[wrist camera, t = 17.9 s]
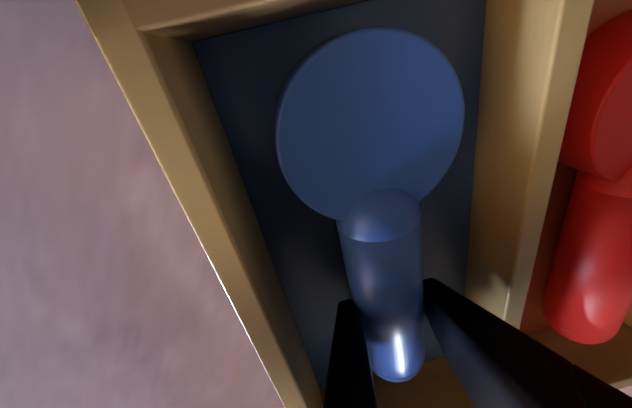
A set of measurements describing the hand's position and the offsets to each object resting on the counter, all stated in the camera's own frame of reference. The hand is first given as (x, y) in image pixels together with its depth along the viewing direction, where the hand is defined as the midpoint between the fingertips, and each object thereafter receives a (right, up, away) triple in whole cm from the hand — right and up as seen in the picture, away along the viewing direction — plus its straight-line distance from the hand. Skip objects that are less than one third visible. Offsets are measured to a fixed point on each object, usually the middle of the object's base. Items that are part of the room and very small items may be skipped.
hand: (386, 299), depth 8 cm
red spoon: (+6, +3, 0) cm, 7 cm away
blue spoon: (-1, +2, 0) cm, 2 cm away
